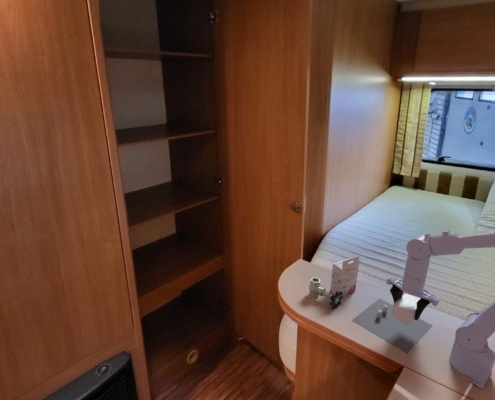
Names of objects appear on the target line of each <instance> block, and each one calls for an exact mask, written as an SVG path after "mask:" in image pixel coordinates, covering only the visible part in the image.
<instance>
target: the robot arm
mask: <svg viewBox="0 0 495 400" xmlns="http://www.w3.org/2000/svg"><path fill="white" fill-rule="evenodd" d="M405 248H406V252H407V258H406V262H405V268H404V272H403V277H402V279H401V278H398V277H394V276H392V275H391V276H388V277H387V279H386V282H385V284H386V285H388V286H389V285H391V287H390V289H389V293H390V294H391V296H392V300H393V304H394V303H395V302H396V301H398V300H399V299H400V298H401V297H402V296H403V295H404V294H406V293H407V294H409V295H412V296H415V297H418V298H420V300H419V301H417V309H416V314H415V318H414V319H415V320H418V319H421V318H420V317H421V316H422V314H421V313H423V312H424V311H425V309H426V308H427V307H428V306H429V305H430V304H431V305H432V306H434V307H437V306H438V305H439V303H440V299H441V298H440V297H439V296H437V295H435V294H433V293H432V292H430V291H429V290H427V289H426V288H425V284H426V281H427V280H426V279H427V275H428V271H429V267H430V260H431V256H433V257H437V256H446V255H447V256H448V255H449V256H451V255H460V254H462V253H463V251H464V249H481V248H482V249H485V248H487V249H488V248H495V230H492V231H484V232H478V233H477V232H476V233H471V234H466V235H462V234H460V233H458V232H456V231H452V232H451V231H450V230H449V229H447V230H443V231H442V233H436V234H435V233H433V234H430V233H425V234H419V235H417V236H416V237H414V238H411V239H410V240H409V241H408V242H407V244H406V246H405ZM493 334H495V300H494V301H492V302H491V303H490V304H488V306H486V307H485V308H482V309H481V310H480V311H476V312H471V313H469V314H468V315H467V316H466V319H465V320H464V321H463V322H462V324H461V325H460V326H459V327H457V329H456V330H455V333H454V335H455V337H454V341H453V344H452V348H451V352H450V355H449V359H448V362H449V365H451V366H452V368H453V369H454V370H456V371H457V372H458V373H460V374H462V375H464V376H467V377H469V378H472V379H471V381H470V383H471V384H473V385H475V386H477V387H478V388H480V389H484V387H485V385H486V383H487V381H488V379H491V378H492V373H493V371H492V370H493V368H494V365H495V351H494V350H493V349H492V348H490V346H489V341H488V339H489V338H490V337H492V335H493Z"/></svg>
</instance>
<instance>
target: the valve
mask: <svg viewBox="0 0 495 400" xmlns="http://www.w3.org/2000/svg"><path fill="white" fill-rule="evenodd" d="M308 290H309V292H308V293H309V294H308V296H309V298H310V297H311V299H318V298H319V296H320V297H323V296H324V297H325V298H326V299H329V300H330V302H329V305H330V309H331V310H335V309H336V308H338V306H339V305H340V306H341V305H342V300H344V295H343V296H342V294H343V293H342V292H341V291H340V292H336V293H335V294H331V293H330V292H328V291H327V290H326V288H324V287H322V286H321V279H320V278H318V277H316V276H313V277H311V278H310V284H309V285H308Z"/></svg>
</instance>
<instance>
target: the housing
mask: <svg viewBox="0 0 495 400" xmlns="http://www.w3.org/2000/svg"><path fill="white" fill-rule="evenodd" d="M420 299H421V298H420V297H416V296H412V295H409V294H407V293H404V294H403V295H402V297H401V298H400V299H399V300H398V301H396V302H395V303H394V302H393V304H392V305H393V308H392V313H391V317H392V318H394V319H396V320H398V321H400V322H402V323H404V324H406V325H407V326H409V325H410V324H411V323H412V322H413V321H414V320H415V319H414V318H415V314H416V309H417V301H419V300H420ZM422 313H423V312H422ZM422 313H421V315H422Z"/></svg>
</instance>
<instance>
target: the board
mask: <svg viewBox="0 0 495 400" xmlns="http://www.w3.org/2000/svg"><path fill="white" fill-rule="evenodd" d="M392 308H393V304H392V303H389V302H387V301H385V300H383V299H381V298H378V299H377V300H376V301H374V302H373V303H372V304H371V305H369V306H368V307H367V308H366V309H364V310H363V311H362V312H360V313H359V314H358V315H357V316H355V317H354V318H353V319H351V321H352V322H354V323H356V325H358V326H360V327H362V328H363V329H366V331H368V332H370V333H371V334H374V335H376V337H379V338H380V339H381V340H384V341H385V342H387V343H388V344H390V345H392V346H394V347H396V348H397V349H399V350H400V351H402V352H404V353H406V354H408V353H409V352H410V351H411V350H412V349H413V348H414V347H415V346H416V344H418V343H419V341H420V340H422V338H423V337H424V336H425V334H427V333H428V332H429V330H431V328H432V327H433V324H431V323H429V322H427V321H425V320H423V319H421V318H419V319H418V320H414V321H413V322H412V323H411V324H410V325H409V326H407V325H406V324H404V323H402V322H400V321H398V320H396V319H394V318H392V317H391V313H392Z"/></svg>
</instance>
